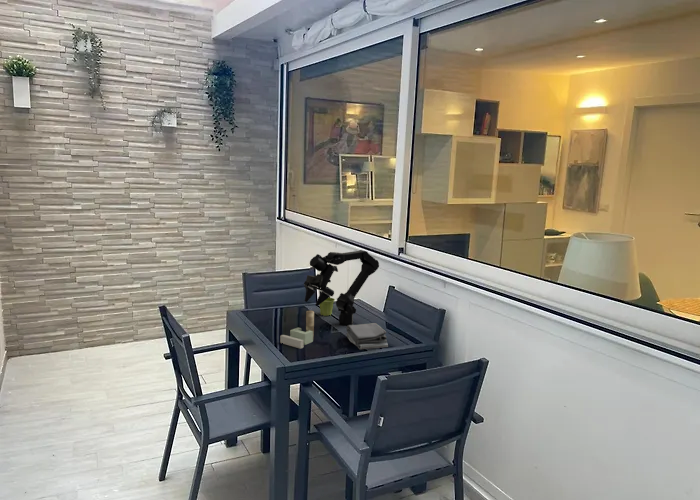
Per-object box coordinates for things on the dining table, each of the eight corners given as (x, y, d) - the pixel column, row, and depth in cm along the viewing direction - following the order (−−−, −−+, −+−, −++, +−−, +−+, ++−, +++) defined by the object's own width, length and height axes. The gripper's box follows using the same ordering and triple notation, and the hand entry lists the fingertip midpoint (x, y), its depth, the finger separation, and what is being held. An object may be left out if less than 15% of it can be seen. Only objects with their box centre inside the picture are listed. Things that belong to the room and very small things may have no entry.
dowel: (314, 337, 239) (314, 310, 237) (312, 339, 235) (313, 312, 233) (307, 336, 239) (307, 310, 237) (305, 339, 236) (305, 312, 234)
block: (298, 337, 237) (298, 327, 236) (312, 341, 232) (313, 331, 231) (290, 340, 233) (290, 330, 232) (305, 344, 228) (305, 334, 227)
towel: (374, 335, 245) (375, 320, 244) (389, 348, 228) (389, 331, 226) (344, 338, 240) (345, 322, 239) (357, 351, 223) (357, 333, 222)
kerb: (283, 342, 231) (283, 334, 231) (303, 347, 224) (303, 340, 224) (280, 343, 230) (280, 335, 229) (300, 348, 223) (300, 341, 222)
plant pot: (315, 315, 275) (315, 300, 273) (320, 311, 283) (321, 296, 282) (331, 317, 272) (331, 302, 271) (336, 313, 281) (337, 298, 280)
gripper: (303, 265, 251) (288, 292, 248) (325, 271, 237) (310, 301, 234) (318, 275, 258) (304, 302, 255) (340, 281, 244) (326, 310, 240)
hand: (310, 303), depth 246 cm, fingers open, 9 cm apart
